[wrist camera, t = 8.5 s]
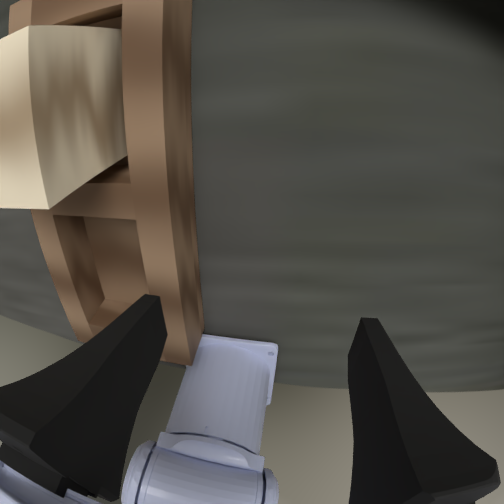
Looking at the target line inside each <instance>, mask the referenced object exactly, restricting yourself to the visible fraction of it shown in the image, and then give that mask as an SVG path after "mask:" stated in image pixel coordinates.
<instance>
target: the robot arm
mask: <svg viewBox="0 0 504 504" xmlns="http://www.w3.org/2000/svg"><path fill="white" fill-rule="evenodd" d="M167 335H168V333H167V329H166V324H165V319H164V315H163V310H162V305H161V300H160V296H156V295H149V294H144V295H143V296H142V297H140V298H139V299H138V300H137V301H136V302H135V303H133V304H132V305H131V306H130V307H129V308H128V309H126V310H125V311H124V312H123V313H122V314H121V315H120V316H118V317H117V318H116V319H115V320H114V321H113V322H111V323H110V324H109V325H108V326H107V327H105V328H104V329H103V330H102V331H100V332H99V333H98V334H97V335H95V336H94V337H93V338H91V339H90V340H89V341H88V342H86V343H85V344H84V345H82V346H81V347H79V348H78V349H76V350H75V351H74V352H72V353H70V354H69V355H67V356H66V357H65V358H63V359H61V360H59V361H57V362H56V363H54V364H52V365H50V366H48V367H47V368H45V369H43V370H41V371H39V372H37V373H35V374H33V375H31V376H29V377H26V378H24V379H21V380H19V381H17V382H14V383H11V384H8V385H5V386H2V387H0V440H1V441H2V442H3V443H2V445H1V447H0V504H102V503H100V502H97V501H95V500H92V499H90V498H88V497H87V495H90V496H92V497H94V498H96V497H97V496H98V497H100V498H103V499H105V500H108V501H110V502H112V501H115V500H117V499H119V494H120V487H121V480H122V473H123V468H124V463H125V458H126V453H127V449H128V445H129V441H130V437H131V433H132V429H133V426H134V422H135V419H136V415H137V412H138V410H139V407H140V404H141V402H142V400H143V397H144V395H145V393H146V390H147V388H148V386H149V384H150V382H151V379H152V377H153V374H154V372H155V370H156V368H157V365H158V363H159V361H160V359H161V356H162V352H163V349H164V346H165V342H166V339H167ZM277 354H278V345H277V344H275V343H270V342H261V341H252V340H244V339H236V338H228V337H220V336H213V335H206V334H202V337H201V340H200V343H199V346H198V349H197V352H196V355H195V358H194V361H193V364H192V366H187V365H186V371H185V374H184V377H183V380H182V383H181V386H180V389H179V391H178V394H177V397H176V400H175V403H174V406H173V409H172V413H171V416H170V418H169V421H168V425H167V427H166V431H165V432H160V435H159V438H158V441H157V442H155V441H152V440H148V441H147V442H146V443H143V444H141V445H140V446H138V448H137V449H136V451H135V453H134V455H133V457H132V459H131V461H130V464H129V467H128V470H127V473H126V476H125V480H124V484H123V489H122V497H121V501H122V504H278V497H279V487H278V482H277V479H276V478H275V476H274V475H273V472H272V471H271V470H270V469H266V468H263V467H264V459H265V457H264V456H259V452H260V446H261V439H262V431H263V424H264V417H265V409H266V405H269V404H270V403H271V397H272V390H273V383H274V376H275V369H276V361H277ZM348 384H349V394H350V403H351V412H352V423H353V437H354V448H353V468H352V480H351V491H350V498H349V504H475V501H477V500H478V499H480V498H482V497H484V496H485V495H487V494H489V493H491V492H492V491H494V490H495V489H496V488H498V487H499V485H500V483H501V482H500V477H499V471H498V466H497V462H496V460H495V459H494V458H492V457H491V456H489V455H488V454H487V453H486V452H484V451H483V450H481V449H480V448H479V447H478V446H476V445H475V444H474V443H473V442H472V441H471V440H469V439H468V438H467V437H466V436H465V435H464V434H463V433H461V432H460V431H459V430H458V429H457V428H456V427H455V426H454V425H453V424H452V423H451V422H450V421H449V420H448V419H447V418H446V416H445V415H444V414H442V412H441V411H440V410H439V409H438V408H437V407H436V405H435V404H434V403H433V402H432V400H431V399H430V398H429V397H428V396H427V394H426V393H425V392H424V390H423V389H422V388H421V386H420V385H419V383H418V382H417V381H416V379H415V378H414V376H413V375H412V373H411V372H410V370H409V369H408V367H407V366H406V364H405V363H404V361H403V360H402V358H401V356H400V355H399V353H398V352H397V350H396V348H395V347H394V345H393V343H392V342H391V340H390V338H389V337H388V335H387V333H386V332H385V330H384V328H383V326H382V325H381V323H380V321H379V320H378V319H377V318H362V317H361V320H360V323H359V326H358V328H357V331H356V334H355V337H354V340H353V343H352V346H351V348H350V351H349V354H348Z"/></svg>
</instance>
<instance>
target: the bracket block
mask: <svg viewBox="0 0 504 504" xmlns="http://www.w3.org/2000/svg"><path fill="white" fill-rule="evenodd" d="M127 155H128V154H127V144H126V132H125V119H124V104H123V83H122V29H113V28H102V27H88V26H65V25H35V26H27V27H25V28H22V29H20V30H18V31H16V32H14V33H12V34H10V35H8V36H6V37H4V38H2V39H0V208H24V209H50V208H52V207H53V206H54V205H56V204H57V203H58V202H60V201H61V200H62V199H64V198H65V197H66V196H68V195H69V194H70V193H72V192H73V191H75V190H76V189H77V188H79V187H80V186H82V185H83V184H84V183H86V182H87V181H89V180H90V179H92V178H93V177H95V176H96V175H98V174H99V173H101V172H102V171H104V170H105V169H107V168H108V167H110V166H111V165H113V164H114V163H116V162H117V161H119V160H121V159H122V158H124V157H125V156H127Z"/></svg>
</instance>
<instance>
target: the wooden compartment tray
mask: <svg viewBox="0 0 504 504" xmlns="http://www.w3.org/2000/svg"><path fill="white" fill-rule="evenodd" d="M191 23H192V0H20V1H18V2H17V3H15V4H13V5H11V6H10V14H9V35H10V34H12V33H14V32H16V31H18V30H20V29H22V28H25V27H27V26H35V25H65V26H88V27H102V28H113V29H122V83H123V104H124V119H125V132H126V144H127V154H128V155H127V156H125V157H124V158H122V159H121V160H119V161H117V162H116V163H114V164H113V165H111V166H110V167H108V168H107V169H105V170H104V171H102V172H101V173H99V174H98V175H96V176H95V177H93V178H92V179H90V180H89V181H87V182H86V183H84V184H83V185H82V186H80V187H79V188H77V189H76V190H75V191H73V192H72V193H70V194H69V195H68V196H66V197H65V198H64V199H62V200H61V201H60V202H58V203H57V204H56V205H54V206H53V207H52V208H50V209H30V210H31V214H32V217H33V221H34V225H35V228H36V231H37V235H38V238H39V241H40V245H41V248H42V251H43V254H44V257H45V260H46V263H47V266H48V268H49V271H50V274H51V277H52V279H53V282H54V285H55V287H56V290H57V293H58V295H59V298H60V300H61V303H62V305H63V307H64V310H65V312H66V315H67V317H68V319H69V321H70V324H71V326H72V328H73V330H74V333H75V335H76V337H77V339H78V341H81V342H85V343H86V342H88V341H89V340H90V339H91V338H93V337H94V336H95V335H97V334H98V333H99V332H100V331H102V330H103V329H104V328H105V327H107V326H108V325H109V324H110V323H111V322H113V321H114V320H115V319H116V318H117V317H118V316H120V315H121V314H122V313H123V312H124V311H125V310H126V309H128V308H129V307H130V306H131V305H132V304H133V303H135V302H136V301H137V300H138V299H139V298H140V297H142V296H143V295H144V294H149V295H156V296H160V300H161V305H162V310H163V315H164V319H165V324H166V329H167V333H168V335H167V339H166V342H165V346H164V349H163V352H162V356H161V359H160V360H161V361H166V362H171V363H176V364H182V365H187V366H192V364H193V361H194V358H195V355H196V352H197V349H198V346H199V343H200V340H201V337H202V334H203V331H204V328H205V327H204V317H203V307H202V296H201V285H200V273H199V260H198V247H197V233H196V217H195V199H194V179H193V155H192V121H191Z"/></svg>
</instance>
